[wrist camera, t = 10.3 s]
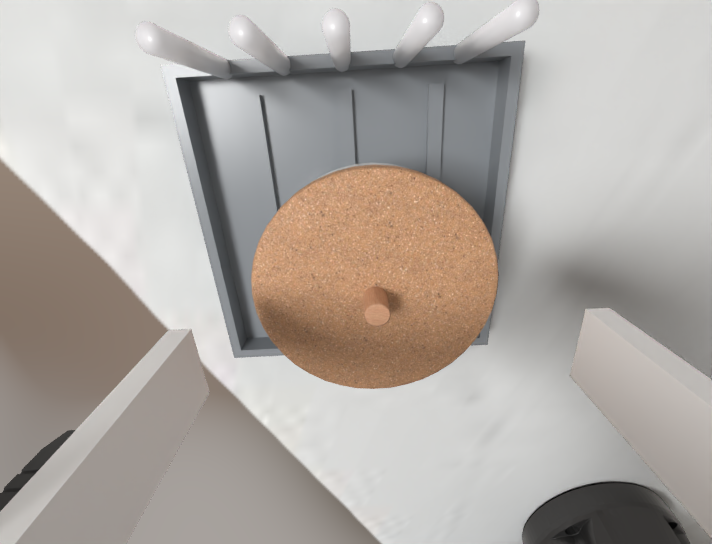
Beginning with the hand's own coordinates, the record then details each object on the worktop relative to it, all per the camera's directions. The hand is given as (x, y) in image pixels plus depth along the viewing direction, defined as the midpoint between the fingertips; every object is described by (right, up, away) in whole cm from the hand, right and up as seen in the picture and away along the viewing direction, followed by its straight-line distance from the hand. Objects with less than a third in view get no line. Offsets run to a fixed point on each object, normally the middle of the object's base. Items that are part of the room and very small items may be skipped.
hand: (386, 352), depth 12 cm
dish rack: (-1, +6, +11) cm, 13 cm away
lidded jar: (0, +5, +10) cm, 11 cm away
